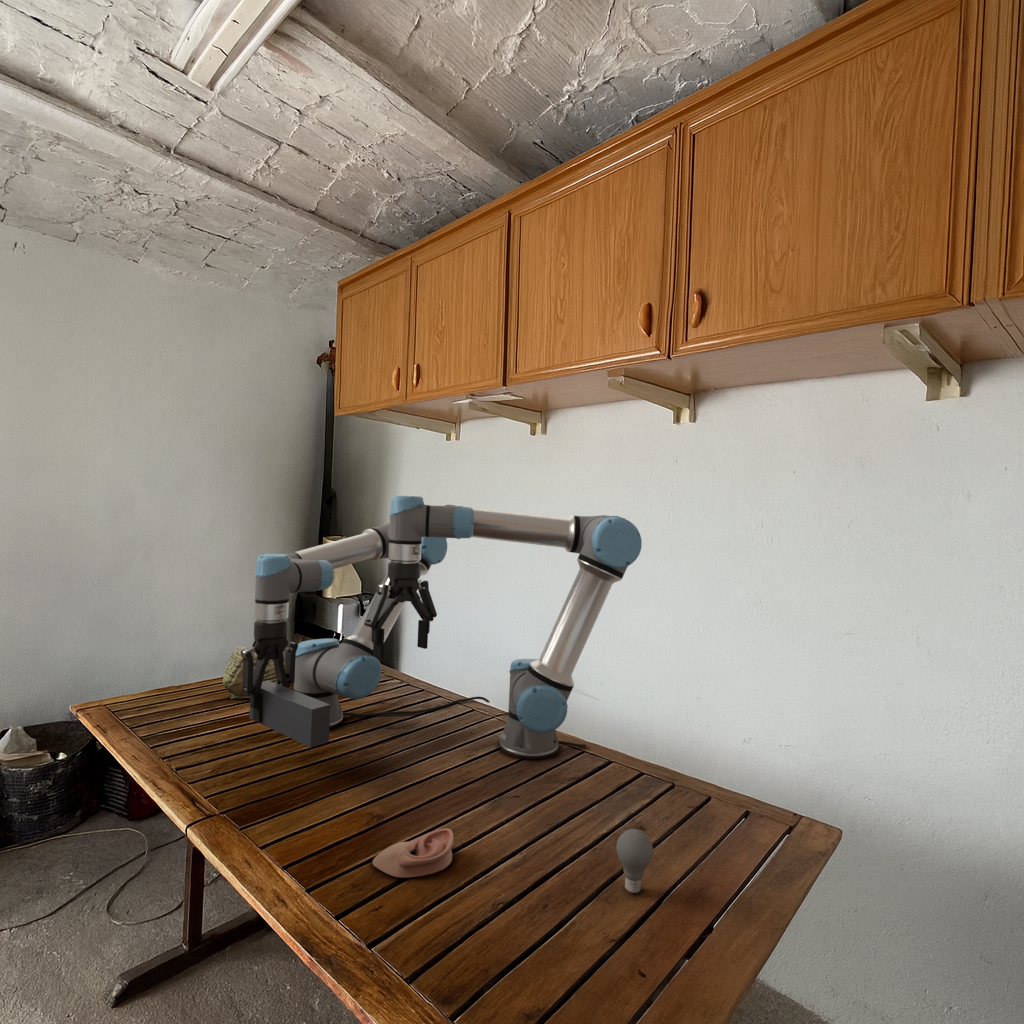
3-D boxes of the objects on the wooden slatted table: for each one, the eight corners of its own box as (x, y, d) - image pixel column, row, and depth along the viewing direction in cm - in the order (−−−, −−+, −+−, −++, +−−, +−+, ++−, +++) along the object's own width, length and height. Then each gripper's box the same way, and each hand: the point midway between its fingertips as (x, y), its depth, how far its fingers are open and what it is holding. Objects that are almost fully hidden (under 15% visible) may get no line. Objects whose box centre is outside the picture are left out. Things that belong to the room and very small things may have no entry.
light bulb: (610, 879, 108) (613, 822, 108) (644, 879, 109) (647, 822, 109) (619, 902, 102) (622, 840, 102) (655, 901, 103) (658, 840, 103)
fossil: (218, 695, 195) (220, 647, 195) (278, 685, 208) (279, 640, 207) (228, 703, 189) (230, 653, 188) (289, 692, 201) (290, 645, 201)
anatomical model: (365, 849, 107) (391, 816, 119) (364, 872, 107) (390, 837, 119) (440, 861, 105) (459, 827, 116) (439, 885, 105) (459, 848, 116)
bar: (249, 718, 150) (250, 684, 150) (267, 713, 154) (268, 680, 154) (310, 747, 135) (312, 709, 135) (328, 742, 138) (330, 704, 138)
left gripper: (243, 627, 140) (240, 732, 140) (313, 617, 154) (309, 713, 154) (226, 622, 145) (223, 723, 145) (295, 613, 158) (292, 705, 159)
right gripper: (372, 566, 136) (368, 664, 136) (453, 560, 155) (449, 646, 156) (350, 562, 140) (346, 657, 141) (432, 557, 160) (428, 641, 160)
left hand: (267, 717), depth 150 cm, fingers closed on bar, 5 cm apart
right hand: (400, 652), depth 148 cm, fingers open, 13 cm apart
